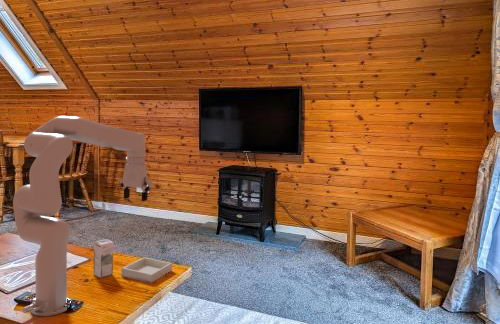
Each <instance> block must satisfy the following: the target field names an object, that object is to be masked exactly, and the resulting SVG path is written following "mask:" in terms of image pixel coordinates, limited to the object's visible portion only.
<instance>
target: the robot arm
mask: <svg viewBox="0 0 500 324" xmlns="http://www.w3.org/2000/svg"><path fill="white" fill-rule="evenodd" d="M23 141H24V142H23V147H24V151H25V152H26V154H28V155H29V156H31V157H34V158H35V159H34V161H33V163H32V164H31V166H30V169H29V173H28V174H29V175H28V176H29V184H25V185H22V186H20V187H19V188H18V189H17V190H16V191H15V192H14V196H13V198H12V208H13V213H14V214H13V215H14V219H15V220H14V221H15V226H16V232H17V235H18V236H19V238H20V239H21V240H23V241H25V242H27V243H31V244H36V245H39V249H38V251H37V253H36V255H35V263H34V264H35V271H34V273H35V274H34V275H35V297H34V298H33V299H32V302H31V303H30V304H29V305H26V306H24V307H22V313H23V314H27V313H29V312H30V313H31V314H33V315H34V316H37V317H51V316H52V317H53V316H55V315H56V316H57V315H59V314H62V313H64V312H66V311H68V310H67V307H63V306H64V305H65V304H66V303H67V299H68V300H71V298H68V294H67V293H68V288H67V287H68V286H67V285H68V283H67V281H68V279H67V278H68V275H67V274H68V273H67V272H68V271H67V270H68V266H67V265H68V264H67V263H68V258H67V254H68V252H67V251H68V245H69V241H70V236H71V228H70V226H69V224H68V222H66V221H65V220H63V219H61V218H59V217H52V216H54V215H56V214H58V213H59V212H60V211H61V208H62V194H61V188H60V187H61V186H60V176H59V175H60V174H59V173H60V169H61V166H62V165H63V163H64V162H65V161H66V159H67V158H68V157H69V156H70V155H71V153H72V151H73V146H74V145H73V144H74V143H73V141H75V142H81V143H85V144H90V145H94V146H98V147H104V148H112V149H114V150H117V151H125V152H126V151H127V152H126V157H125V161H126V163H125V165H124V170H123V176H122V177H121V178H119V179H118V180H119V183H120V186H121V187H122V190H123V199H124V200H125V199H129V198H130V195H131V194H130V191H131V189H130V188H135V189H139V188H140V189H141V191H142V192H141V202H145V201H148V197H149V196H148V194H149V193H148V192H149V191H150V190H151V188H152V186H153V181H152V180H150V179H148V170H147V164H146V135H145V134H144V133H142V132H136V131H132V130H130V129H129V130H128V129H124V128H120V127H116V126H112V125H108V124H104V123H100V122H97V121H94V120H91V119H87V118H84V117H82V116H81V117H80V116H72V115H71V116H66V115H59V116H55V117H54V118H52V119H50V120H48V121H47V122H45V123H43V124H42V125H41V126H39V127H38V128H36V129H34V130H32V132H30V133H29V134H28V135H27V136H26V138H25V140H23ZM71 301H72V300H71ZM71 301H70V303H71Z"/></svg>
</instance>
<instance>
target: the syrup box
mask: <svg viewBox="0 0 500 324" xmlns="http://www.w3.org/2000/svg"><path fill="white" fill-rule="evenodd" d="M113 271H114V242H113V241H112V240H110V239H107V238H106V239H101V240H96V241H94V242H93V273H92V274H93V275H94V276H95V277H98V278H100V279H102V278H105V277H108V276H109V277H110V276H111V275H113V273H114V272H113Z"/></svg>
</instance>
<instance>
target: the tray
mask: <svg viewBox="0 0 500 324" xmlns="http://www.w3.org/2000/svg"><path fill="white" fill-rule="evenodd" d="M171 270H172V271H173V262H169V261H165V260H161V259H160V260H159V259H155V258H150V257H145V256H143V257H142V258H140V259H138V260H136V261H133V262H131V263H129V264H127V265H124V266H123V267H121V277H123V278H129V279H132V280H136V281H141V282H144V283H149V284H153V283H154V282H156V281H157V280H159V279H161V278H162V277H164V276H166V275H167V274H169V273H171V272H172V271H171ZM170 271H171V272H170ZM168 272H169V273H168ZM166 273H167V274H166ZM165 274H166V275H165ZM163 275H164V276H163ZM161 276H162V277H161ZM160 277H161V278H160ZM158 278H159V279H158ZM155 280H156V281H155Z"/></svg>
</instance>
